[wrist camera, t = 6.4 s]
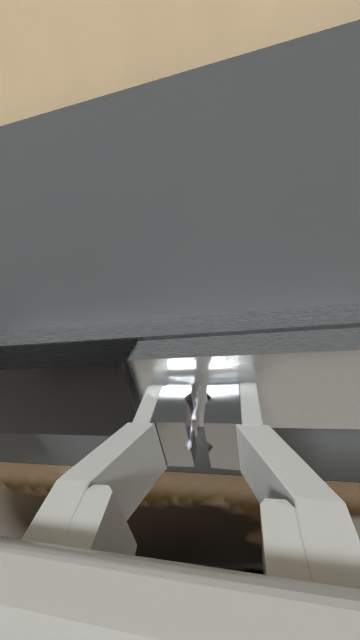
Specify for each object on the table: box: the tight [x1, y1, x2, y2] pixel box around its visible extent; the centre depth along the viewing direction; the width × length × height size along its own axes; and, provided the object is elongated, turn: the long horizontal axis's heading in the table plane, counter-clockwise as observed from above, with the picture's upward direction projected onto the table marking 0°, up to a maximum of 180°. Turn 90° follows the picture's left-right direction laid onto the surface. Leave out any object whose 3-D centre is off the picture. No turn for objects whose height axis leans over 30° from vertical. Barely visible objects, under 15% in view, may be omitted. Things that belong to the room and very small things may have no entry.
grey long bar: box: [0, 303, 360, 347], centre depth 10 cm, size 30×6×4 cm, turn 100°
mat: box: [0, 20, 360, 483], centre depth 12 cm, size 32×18×1 cm, turn 100°
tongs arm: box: [0, 327, 360, 436], centre depth 10 cm, size 21×3×2 cm, turn 100°
